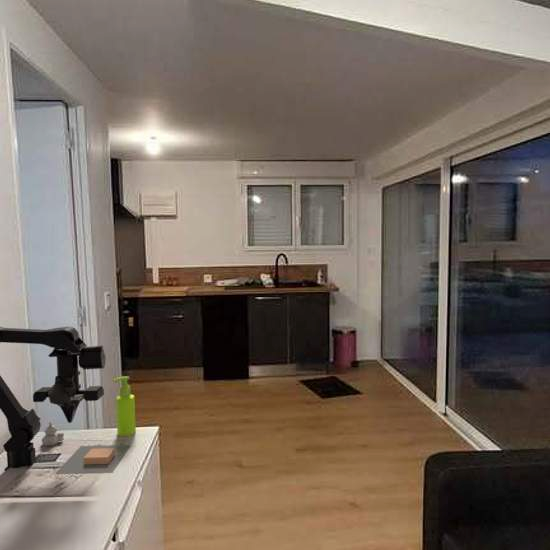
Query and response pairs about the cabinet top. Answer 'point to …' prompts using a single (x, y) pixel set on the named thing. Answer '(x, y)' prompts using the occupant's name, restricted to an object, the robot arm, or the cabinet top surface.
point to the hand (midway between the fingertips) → (70, 422)
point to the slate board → (77, 464)
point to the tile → (99, 456)
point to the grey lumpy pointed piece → (52, 436)
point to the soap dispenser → (125, 409)
